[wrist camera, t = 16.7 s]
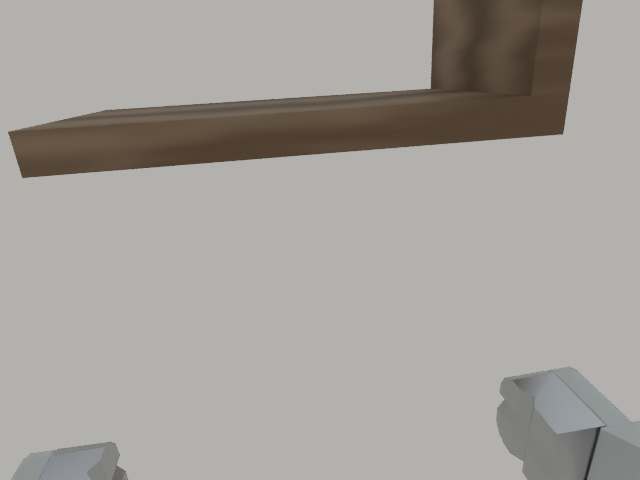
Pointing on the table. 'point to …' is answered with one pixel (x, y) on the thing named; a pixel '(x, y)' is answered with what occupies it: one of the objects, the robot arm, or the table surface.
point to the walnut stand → (349, 103)
